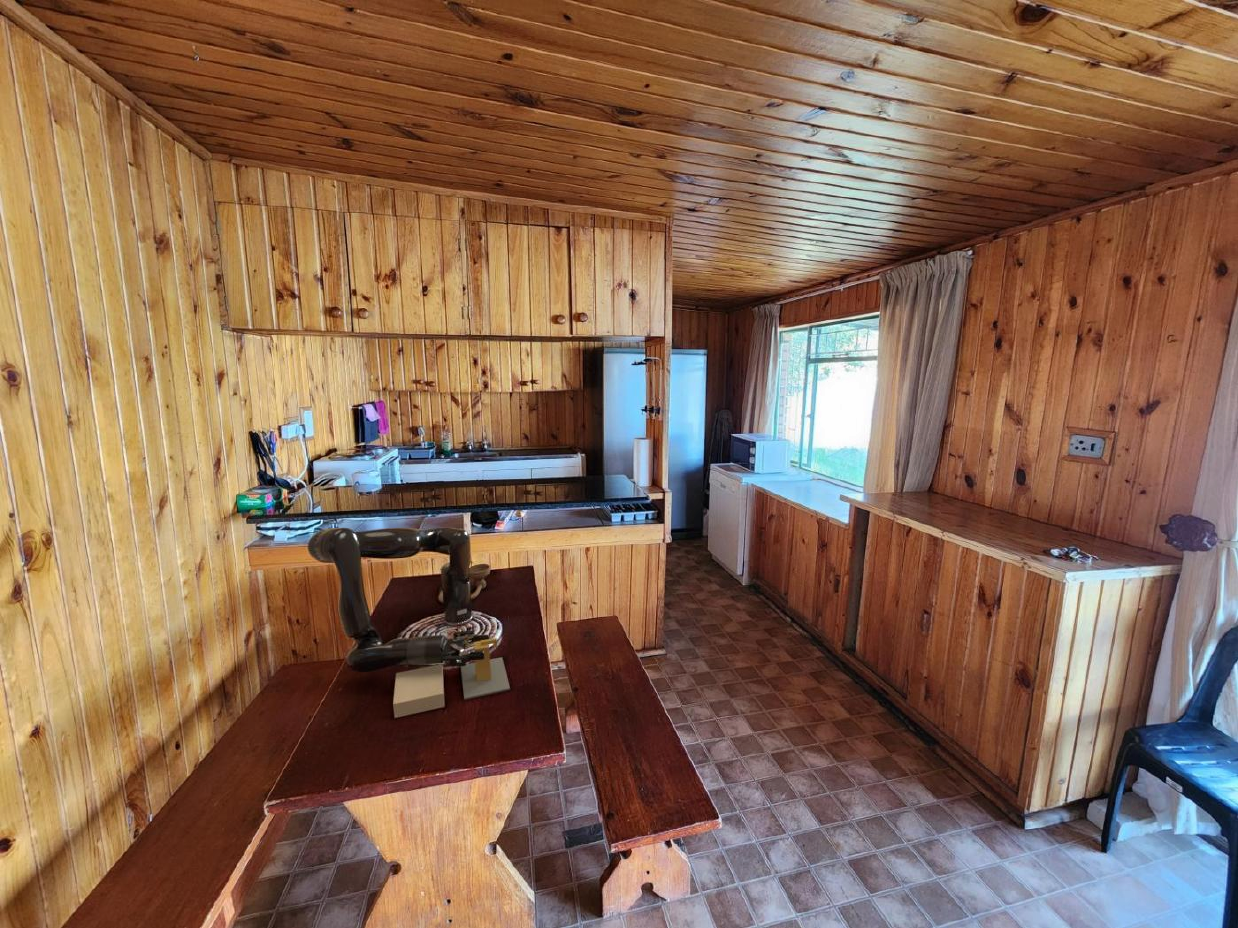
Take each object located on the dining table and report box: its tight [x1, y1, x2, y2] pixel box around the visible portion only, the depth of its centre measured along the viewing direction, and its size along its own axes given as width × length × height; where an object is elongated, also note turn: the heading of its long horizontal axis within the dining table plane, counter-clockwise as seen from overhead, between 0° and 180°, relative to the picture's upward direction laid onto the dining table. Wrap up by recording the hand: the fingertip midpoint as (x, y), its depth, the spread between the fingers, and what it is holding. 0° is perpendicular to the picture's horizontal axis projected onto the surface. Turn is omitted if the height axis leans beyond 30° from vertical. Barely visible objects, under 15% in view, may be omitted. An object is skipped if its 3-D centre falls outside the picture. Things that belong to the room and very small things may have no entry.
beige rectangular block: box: [392, 663, 446, 719], centre depth 135 cm, size 14×12×4 cm
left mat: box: [460, 657, 511, 701], centre depth 143 cm, size 16×12×1 cm
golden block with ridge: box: [473, 637, 498, 682], centre depth 142 cm, size 4×6×11 cm, turn 106°
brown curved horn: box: [437, 563, 491, 604], centre depth 197 cm, size 24×9×19 cm
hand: (486, 646), depth 142 cm, fingers open, 8 cm apart
